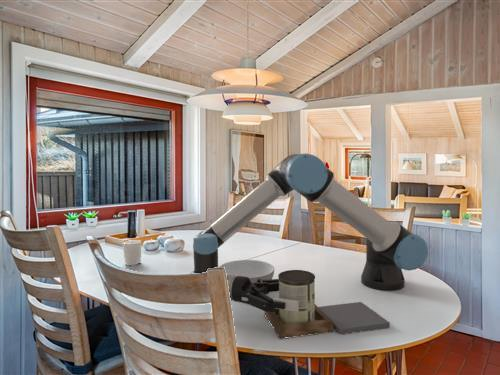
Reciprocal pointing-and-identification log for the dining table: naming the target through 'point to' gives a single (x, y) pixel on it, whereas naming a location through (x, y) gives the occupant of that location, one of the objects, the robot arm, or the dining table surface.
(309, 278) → the coffee can
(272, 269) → the serving bowl
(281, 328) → the walnut collar
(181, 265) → the dining table surface
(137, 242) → the white cup
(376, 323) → the rubber mat
